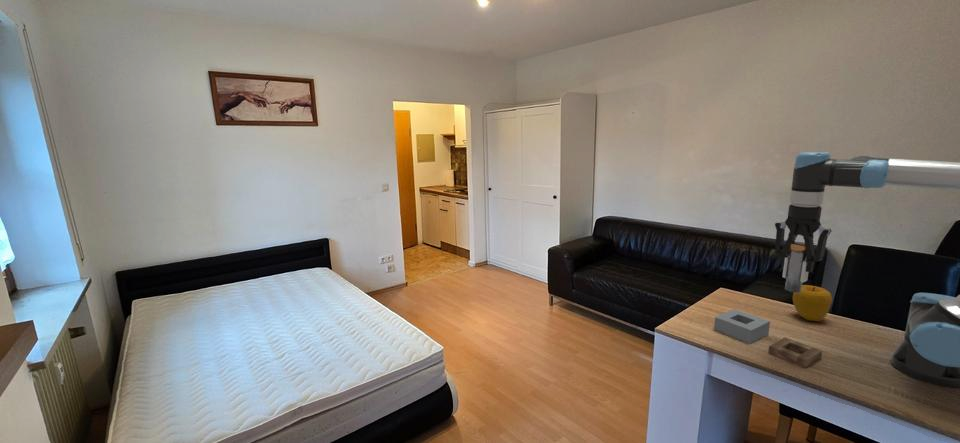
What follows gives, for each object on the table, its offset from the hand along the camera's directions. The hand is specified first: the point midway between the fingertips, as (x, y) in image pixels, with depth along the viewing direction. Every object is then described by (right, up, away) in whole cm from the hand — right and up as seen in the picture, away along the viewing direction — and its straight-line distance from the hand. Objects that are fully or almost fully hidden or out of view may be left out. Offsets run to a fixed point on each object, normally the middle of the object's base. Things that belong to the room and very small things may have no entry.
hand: (794, 278), depth 119 cm
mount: (+2, -25, +3) cm, 25 cm away
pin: (0, -4, +1) cm, 4 cm away
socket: (-4, -22, +18) cm, 29 cm away
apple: (+27, -19, +26) cm, 42 cm away
